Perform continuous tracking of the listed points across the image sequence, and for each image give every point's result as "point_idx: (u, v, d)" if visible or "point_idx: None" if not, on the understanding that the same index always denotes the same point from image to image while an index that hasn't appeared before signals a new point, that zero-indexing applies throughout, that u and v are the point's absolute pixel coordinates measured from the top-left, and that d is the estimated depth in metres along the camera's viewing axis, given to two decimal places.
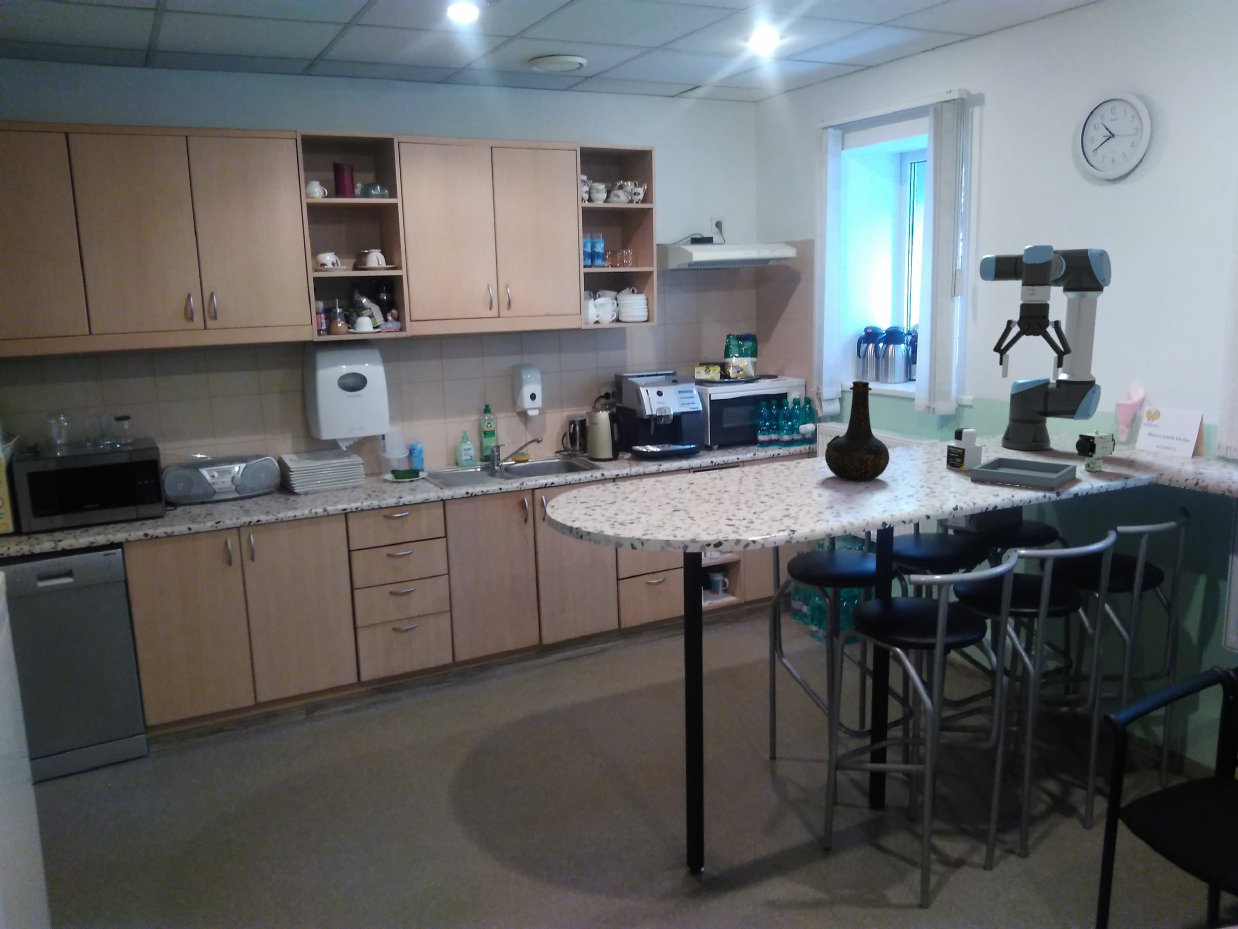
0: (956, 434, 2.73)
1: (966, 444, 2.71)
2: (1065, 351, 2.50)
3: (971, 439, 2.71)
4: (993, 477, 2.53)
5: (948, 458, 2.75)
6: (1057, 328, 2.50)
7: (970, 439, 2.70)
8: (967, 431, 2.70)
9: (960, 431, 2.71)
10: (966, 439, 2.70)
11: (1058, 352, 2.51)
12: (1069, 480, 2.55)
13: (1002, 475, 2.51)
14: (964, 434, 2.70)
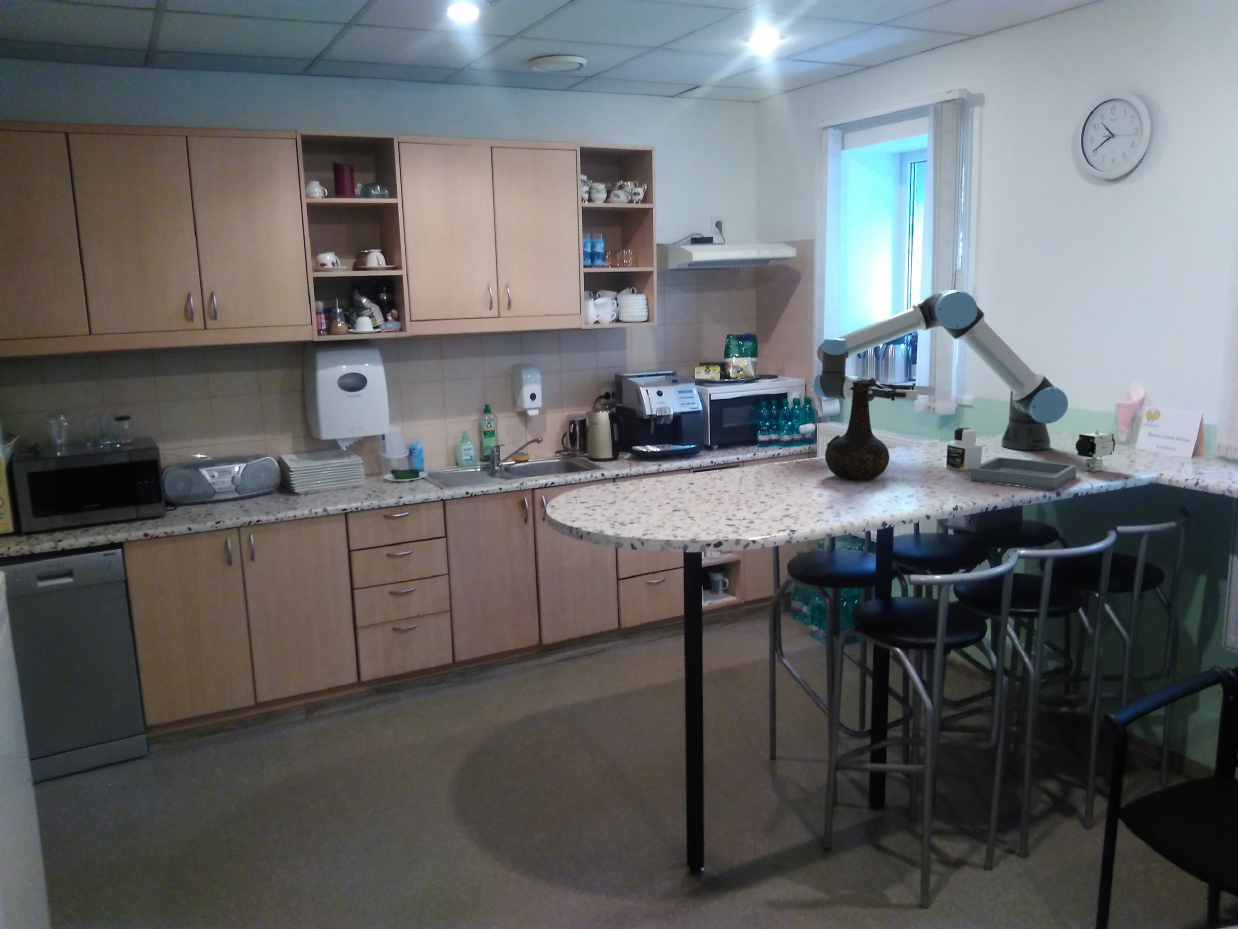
0: (956, 434, 2.73)
1: (966, 444, 2.71)
2: None
3: (971, 439, 2.71)
4: (993, 477, 2.53)
5: (948, 458, 2.75)
6: (872, 396, 2.83)
7: (970, 439, 2.70)
8: (967, 431, 2.70)
9: (960, 431, 2.71)
10: (966, 439, 2.70)
11: None
12: (1069, 480, 2.55)
13: (1002, 475, 2.51)
14: (964, 434, 2.70)
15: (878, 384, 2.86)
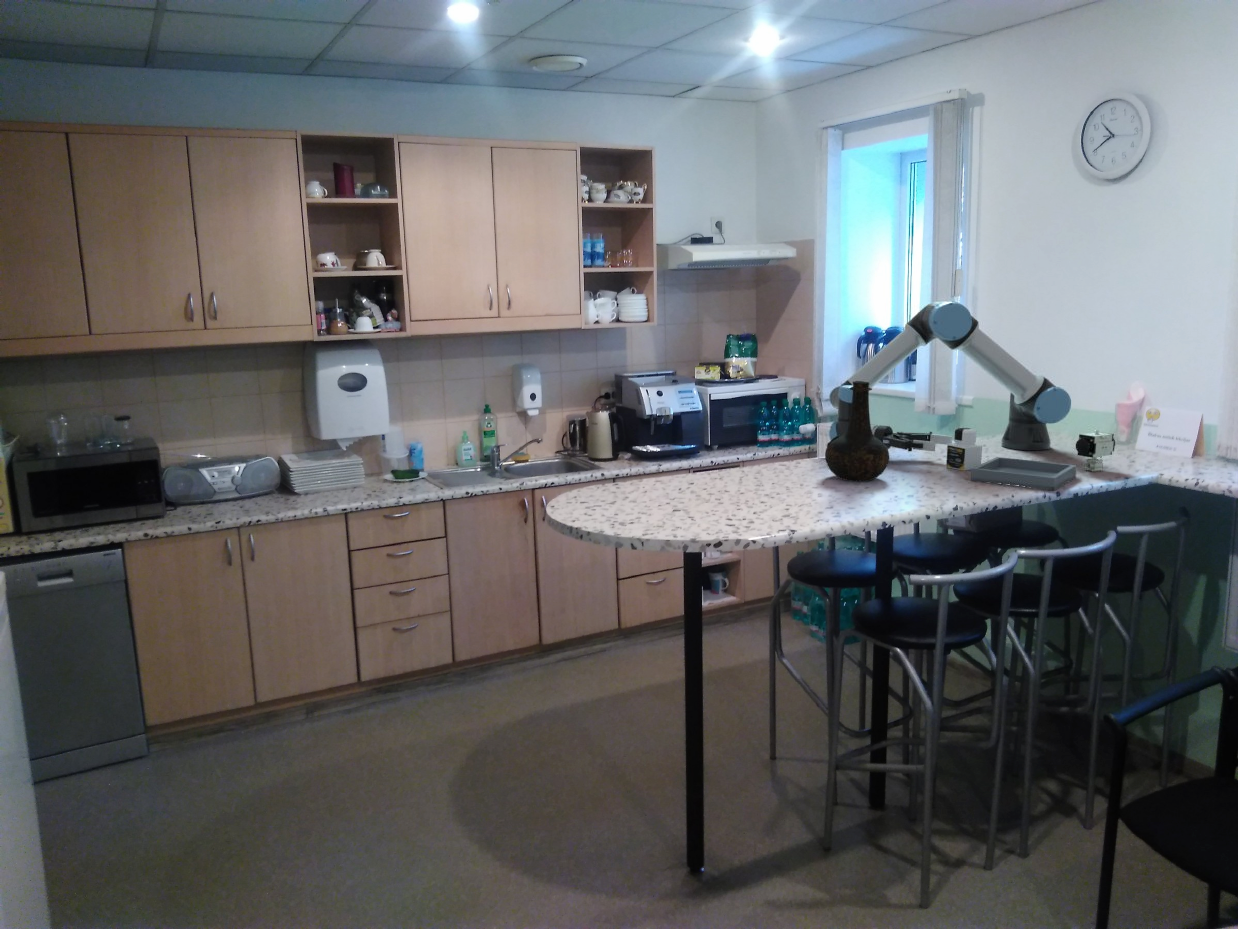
0: (956, 434, 2.73)
1: (966, 444, 2.71)
2: None
3: (971, 439, 2.71)
4: (993, 477, 2.53)
5: (948, 458, 2.75)
6: None
7: (970, 439, 2.70)
8: (967, 431, 2.70)
9: (960, 431, 2.71)
10: (966, 439, 2.70)
11: None
12: (1069, 480, 2.55)
13: (1002, 475, 2.51)
14: (964, 434, 2.70)
15: (895, 433, 2.85)
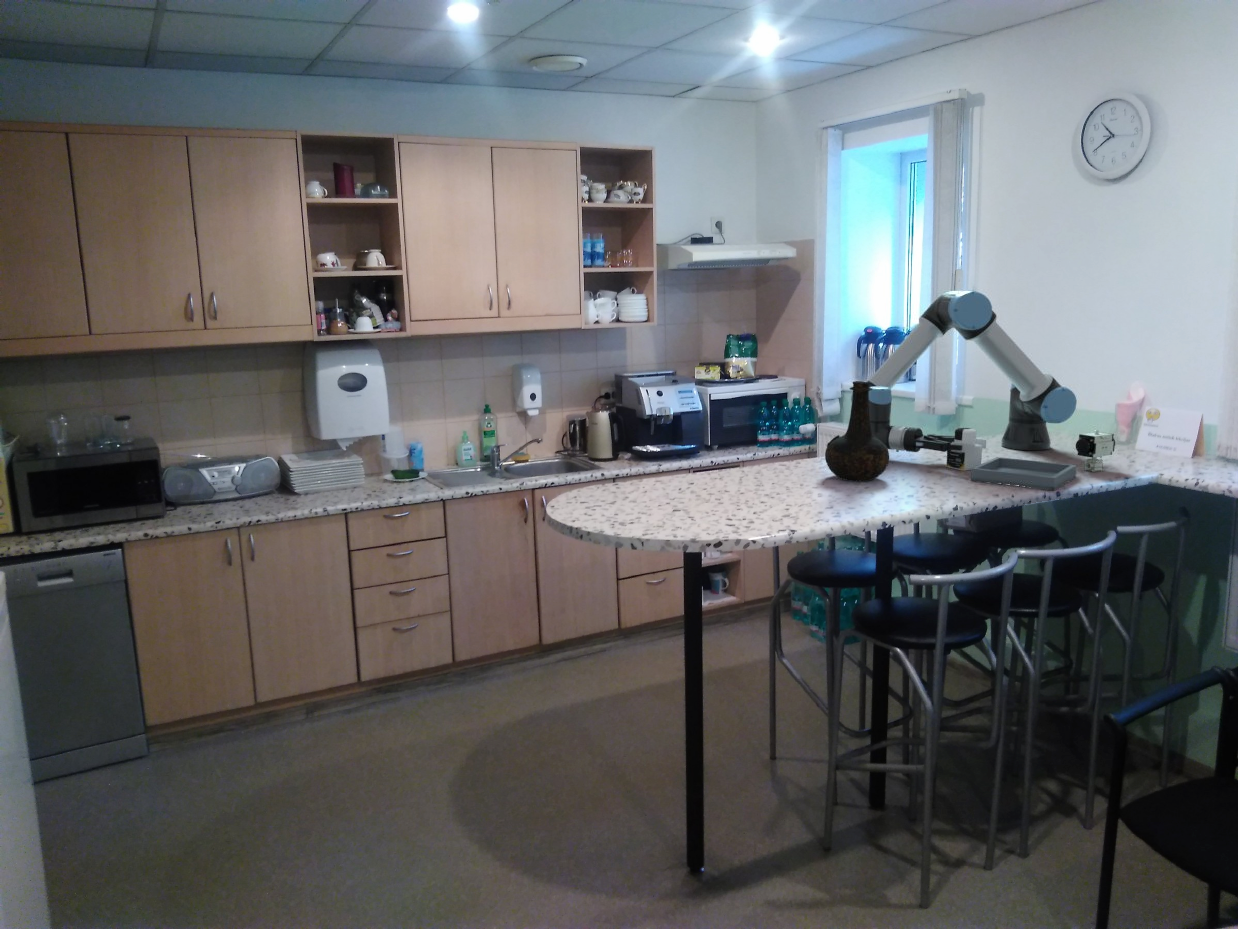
0: (956, 434, 2.73)
1: None
2: None
3: (971, 439, 2.71)
4: (993, 477, 2.53)
5: (948, 458, 2.75)
6: None
7: (970, 439, 2.70)
8: (967, 431, 2.70)
9: (960, 431, 2.71)
10: (966, 438, 2.70)
11: None
12: (1069, 480, 2.55)
13: (1002, 475, 2.51)
14: (964, 434, 2.70)
15: (926, 435, 2.79)
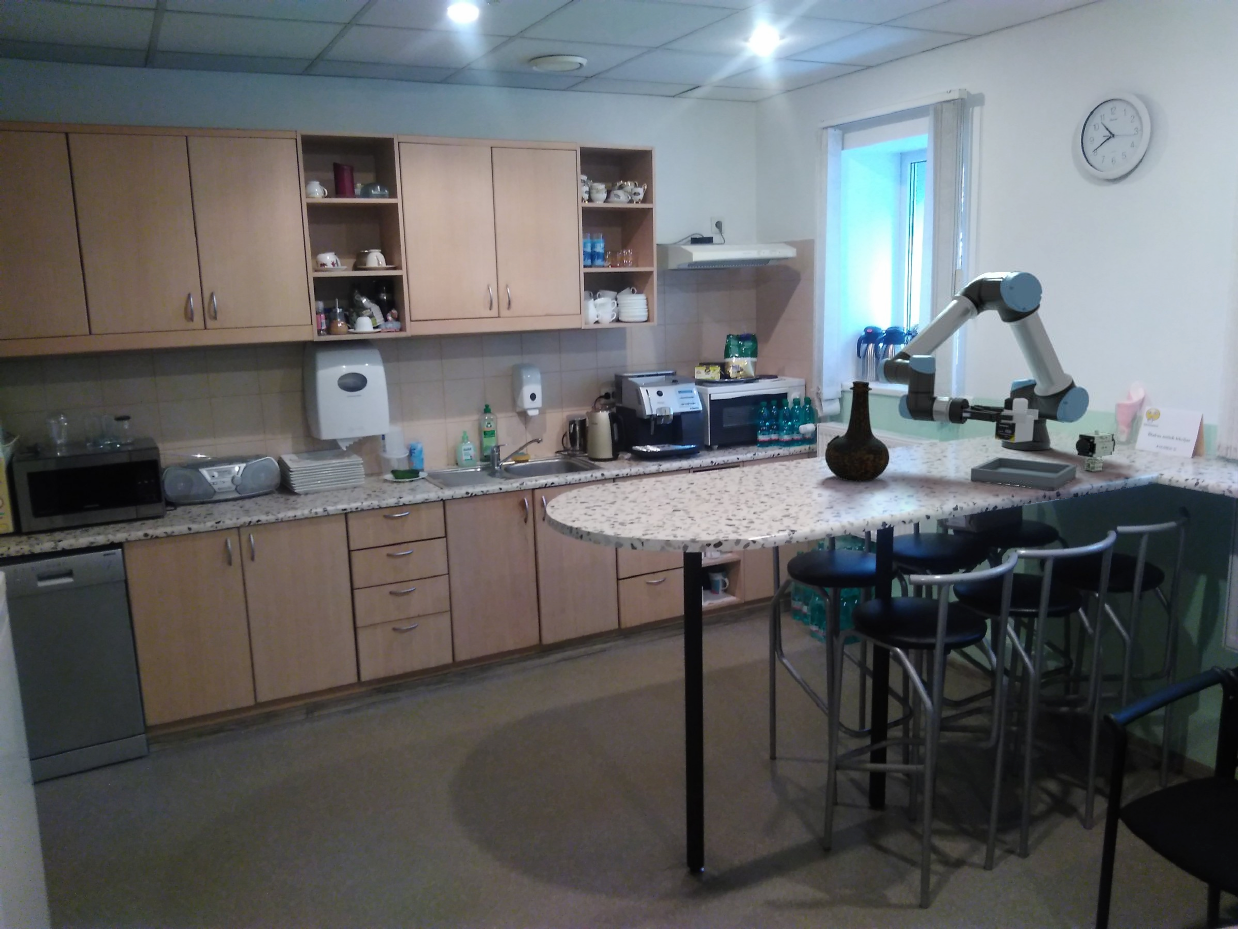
0: (1006, 404, 2.56)
1: None
2: None
3: (1022, 409, 2.54)
4: (993, 477, 2.53)
5: (997, 429, 2.59)
6: None
7: (1021, 409, 2.54)
8: (1018, 400, 2.54)
9: (1010, 400, 2.55)
10: (1017, 408, 2.54)
11: None
12: (1069, 480, 2.55)
13: (1002, 475, 2.51)
14: (1015, 403, 2.54)
15: (973, 406, 2.63)
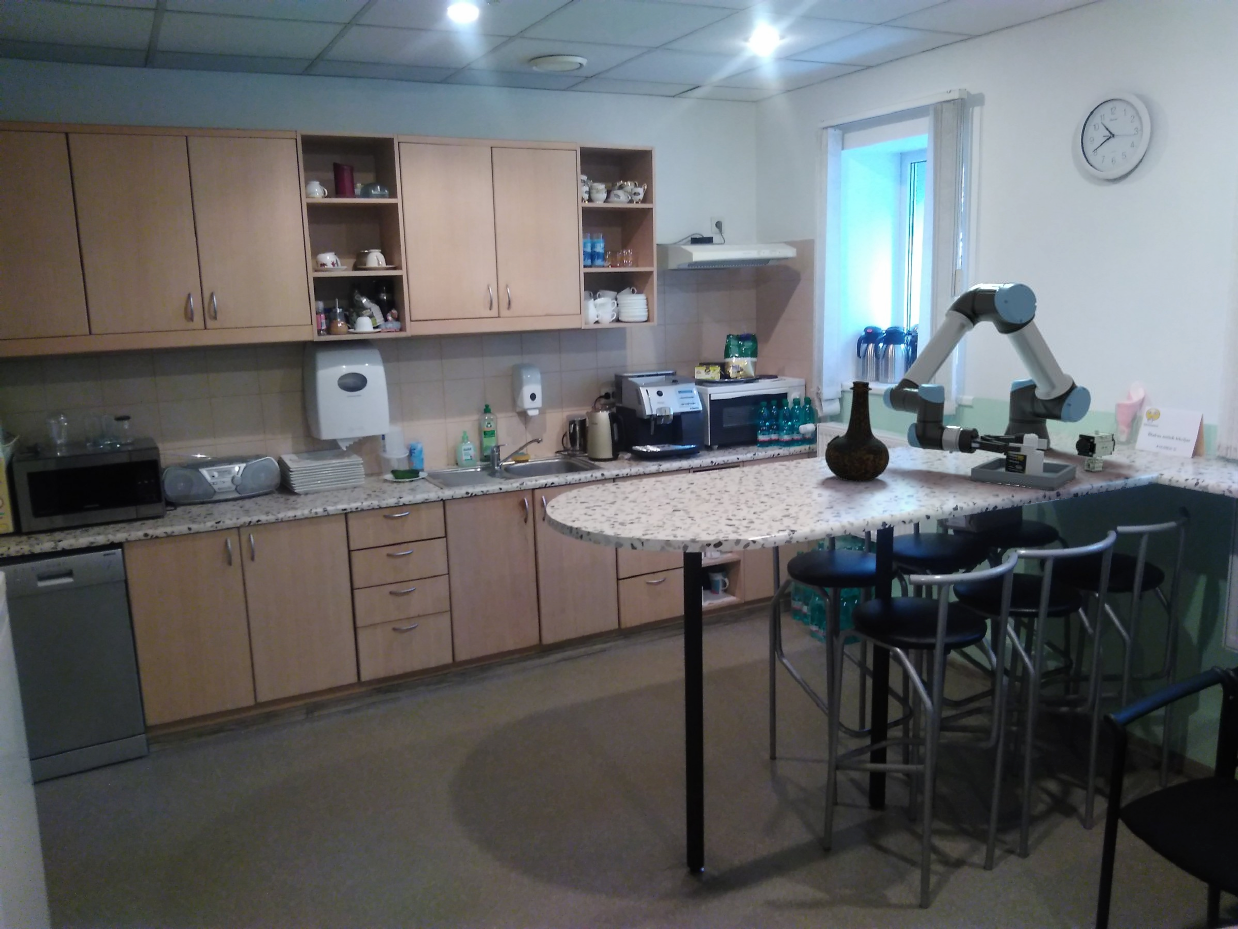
0: (1016, 439, 2.56)
1: None
2: None
3: None
4: (993, 477, 2.53)
5: (1007, 465, 2.59)
6: None
7: None
8: (1029, 436, 2.54)
9: (1021, 436, 2.55)
10: (1028, 444, 2.54)
11: None
12: (1069, 480, 2.55)
13: (1002, 475, 2.51)
14: (1025, 439, 2.54)
15: (983, 436, 2.62)
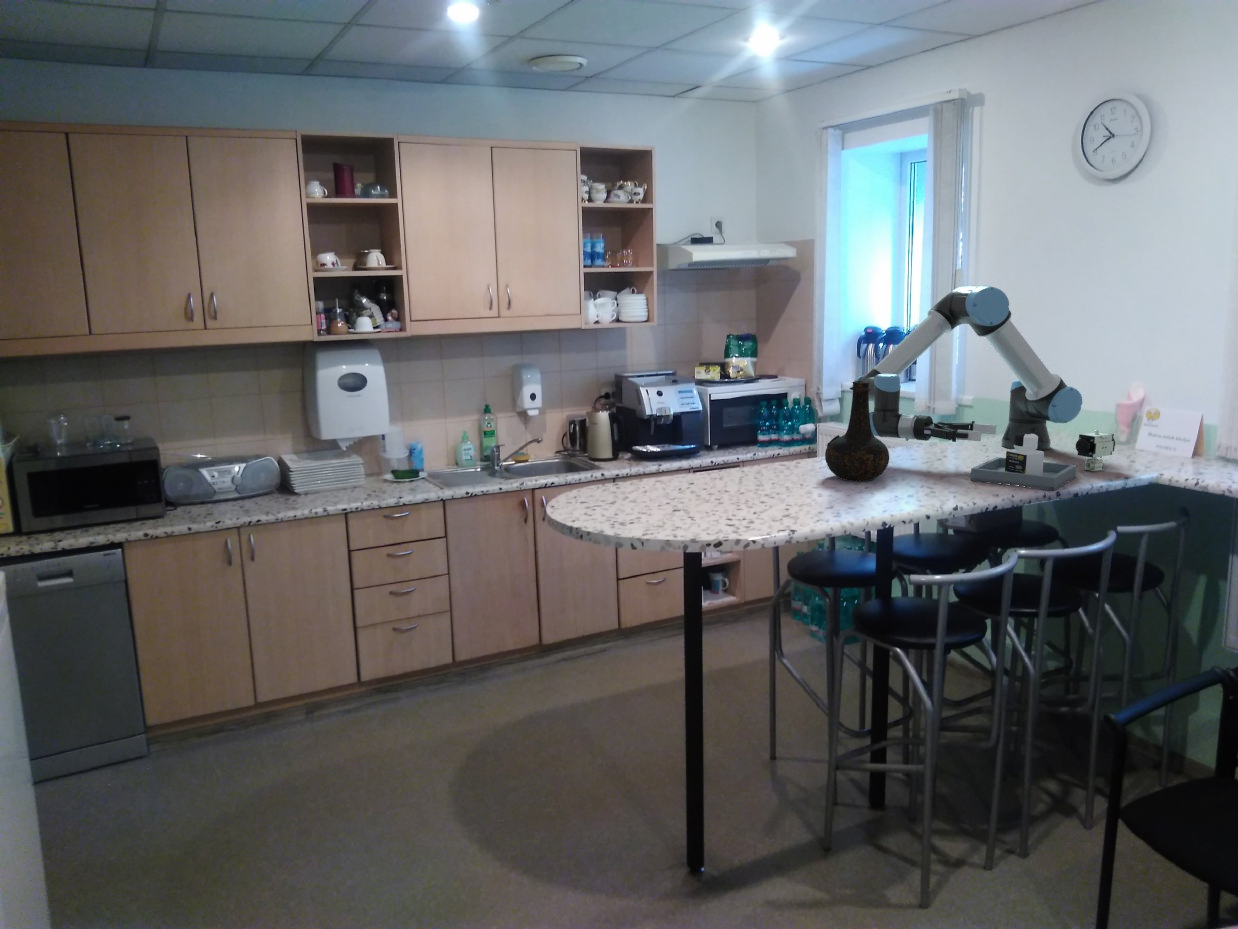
0: (1016, 439, 2.56)
1: (1027, 450, 2.54)
2: None
3: (1033, 445, 2.54)
4: (993, 477, 2.53)
5: (1007, 465, 2.59)
6: None
7: (1032, 445, 2.54)
8: (1029, 436, 2.54)
9: (1021, 436, 2.55)
10: (1028, 444, 2.54)
11: None
12: (1069, 480, 2.55)
13: (1002, 475, 2.51)
14: (1025, 439, 2.54)
15: (936, 423, 2.72)
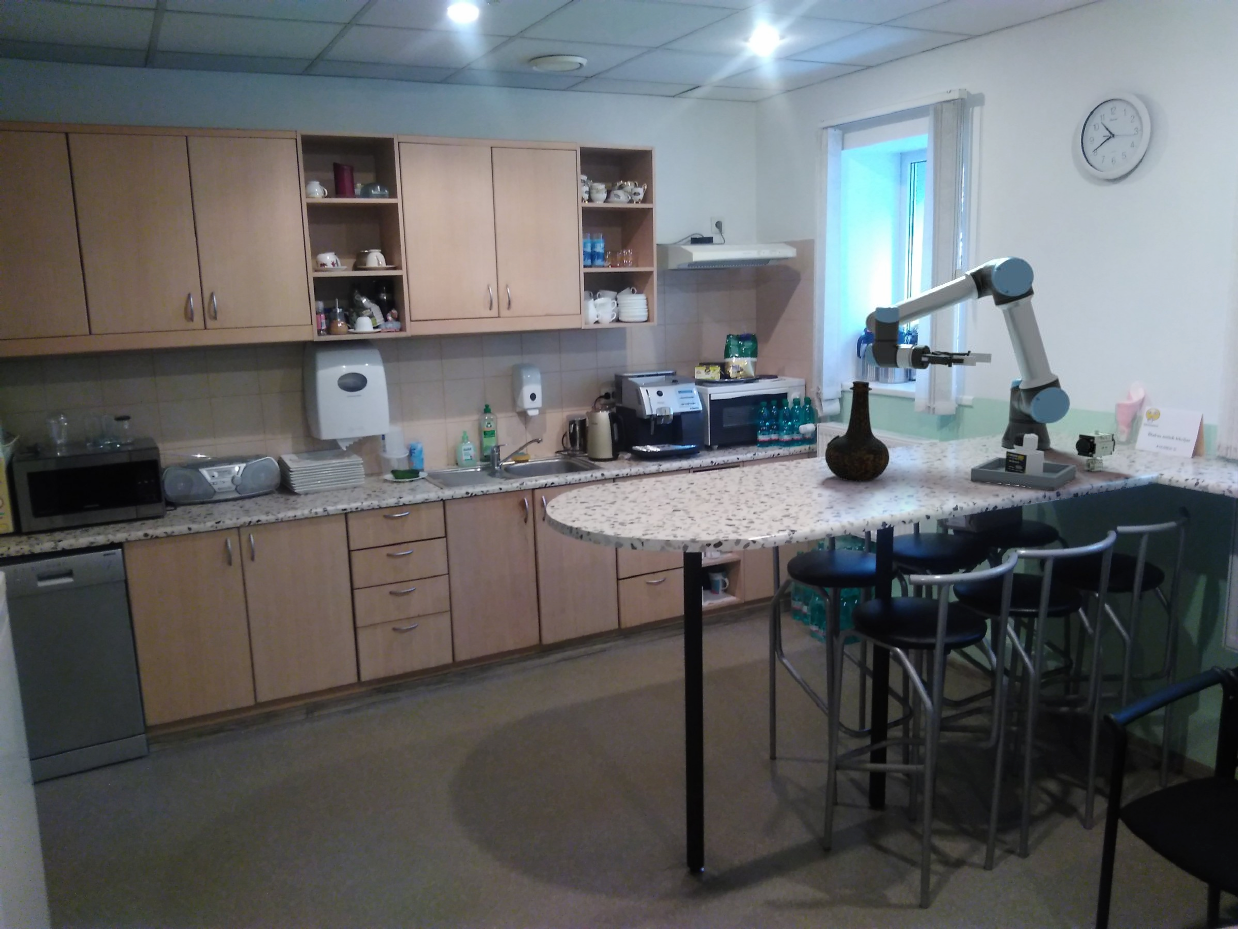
0: (1016, 439, 2.56)
1: (1027, 450, 2.54)
2: None
3: (1033, 445, 2.54)
4: (993, 477, 2.53)
5: (1007, 465, 2.59)
6: (928, 363, 2.78)
7: (1032, 445, 2.54)
8: (1029, 436, 2.54)
9: (1021, 436, 2.55)
10: (1028, 444, 2.54)
11: None
12: (1069, 480, 2.55)
13: (1002, 475, 2.51)
14: (1025, 439, 2.54)
15: None
